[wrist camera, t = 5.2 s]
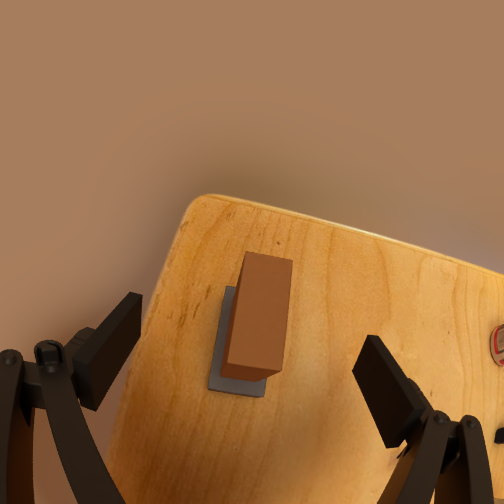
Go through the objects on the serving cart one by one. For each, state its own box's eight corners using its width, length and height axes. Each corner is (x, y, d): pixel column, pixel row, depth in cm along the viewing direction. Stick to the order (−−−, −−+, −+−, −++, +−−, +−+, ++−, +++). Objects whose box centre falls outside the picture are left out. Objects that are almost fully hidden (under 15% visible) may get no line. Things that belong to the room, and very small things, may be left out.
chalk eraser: (207, 389, 21) (208, 380, 12) (224, 296, 25) (235, 232, 16) (258, 397, 21) (293, 393, 13) (270, 304, 25) (306, 246, 17)
